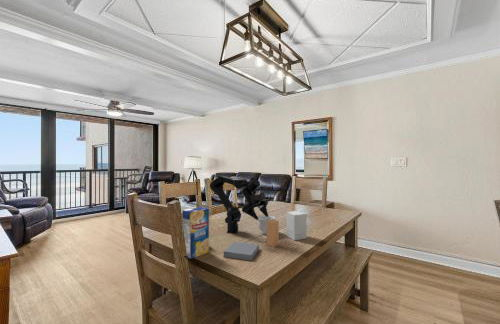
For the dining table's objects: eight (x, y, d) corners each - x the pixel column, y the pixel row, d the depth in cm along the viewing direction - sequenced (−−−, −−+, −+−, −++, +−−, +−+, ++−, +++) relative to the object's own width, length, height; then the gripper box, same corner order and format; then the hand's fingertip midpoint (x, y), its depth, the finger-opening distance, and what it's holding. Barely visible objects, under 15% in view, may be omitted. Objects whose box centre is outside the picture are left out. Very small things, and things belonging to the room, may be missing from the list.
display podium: (223, 256, 111) (223, 251, 111) (234, 246, 124) (234, 241, 124) (251, 260, 107) (251, 255, 107) (259, 249, 120) (259, 244, 120)
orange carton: (266, 244, 127) (266, 221, 127) (271, 242, 130) (272, 219, 130) (273, 247, 124) (273, 222, 124) (278, 244, 127) (278, 221, 127)
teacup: (275, 229, 156) (275, 214, 156) (275, 236, 141) (275, 220, 141) (257, 228, 157) (257, 213, 157) (256, 235, 142) (256, 219, 142)
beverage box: (182, 254, 113) (182, 210, 113) (200, 248, 121) (200, 206, 121) (190, 259, 108) (190, 212, 108) (208, 252, 116) (209, 208, 116)
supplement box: (307, 238, 137) (307, 213, 137) (294, 240, 133) (294, 215, 133) (298, 234, 145) (298, 210, 145) (286, 236, 142) (286, 211, 142)
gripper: (246, 189, 129) (260, 213, 122) (266, 186, 143) (280, 207, 136) (235, 201, 134) (249, 224, 128) (256, 197, 148) (269, 218, 142)
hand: (262, 218), depth 133 cm, fingers open, 9 cm apart
